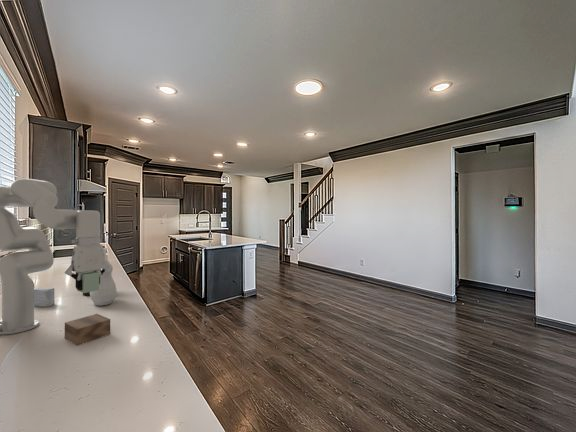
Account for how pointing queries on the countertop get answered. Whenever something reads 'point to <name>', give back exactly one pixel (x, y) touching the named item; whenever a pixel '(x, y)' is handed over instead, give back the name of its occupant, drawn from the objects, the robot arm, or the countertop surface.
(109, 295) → the white vase
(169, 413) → the countertop surface
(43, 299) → the medicine box
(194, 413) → the countertop surface
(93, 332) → the walnut riser
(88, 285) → the sage block
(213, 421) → the countertop surface
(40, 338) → the countertop surface
